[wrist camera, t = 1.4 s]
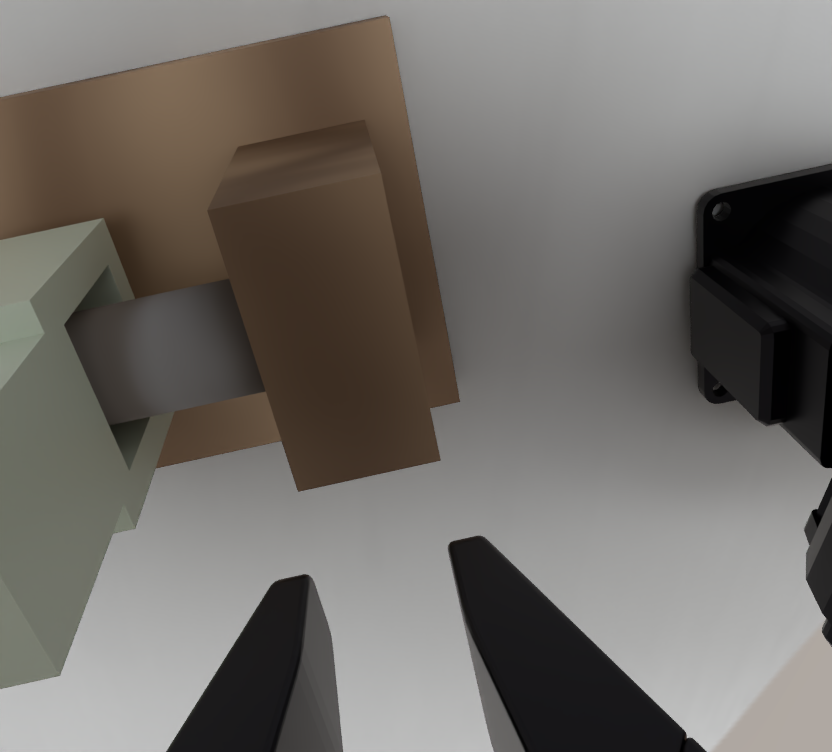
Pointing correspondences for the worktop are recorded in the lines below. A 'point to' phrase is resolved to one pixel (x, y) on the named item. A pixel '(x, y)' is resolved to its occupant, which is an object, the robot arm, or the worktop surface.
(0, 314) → the sleeve
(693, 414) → the worktop surface
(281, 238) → the pipe stand
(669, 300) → the worktop surface
